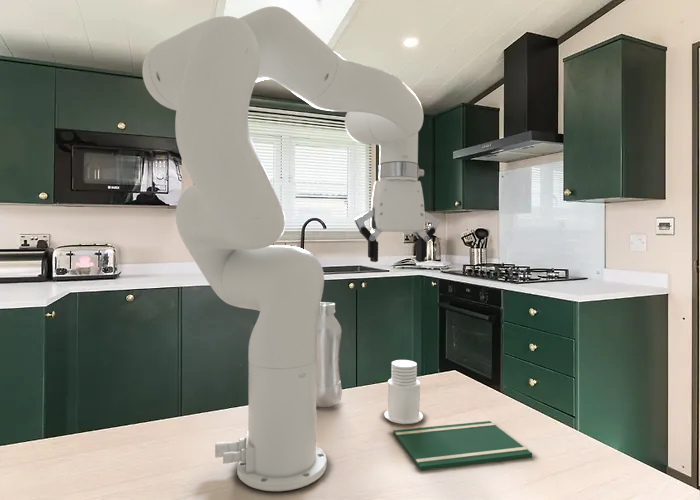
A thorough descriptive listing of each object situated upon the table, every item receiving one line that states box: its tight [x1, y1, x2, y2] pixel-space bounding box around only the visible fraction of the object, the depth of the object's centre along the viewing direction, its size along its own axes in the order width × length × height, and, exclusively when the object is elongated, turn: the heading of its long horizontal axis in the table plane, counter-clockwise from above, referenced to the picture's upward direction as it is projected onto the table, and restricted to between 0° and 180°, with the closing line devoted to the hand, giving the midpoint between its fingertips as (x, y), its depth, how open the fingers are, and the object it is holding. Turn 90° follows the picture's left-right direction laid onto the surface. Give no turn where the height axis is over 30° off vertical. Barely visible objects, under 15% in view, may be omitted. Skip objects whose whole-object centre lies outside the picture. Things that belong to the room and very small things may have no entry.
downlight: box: [384, 359, 424, 425], centre depth 81 cm, size 8×7×10 cm
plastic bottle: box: [316, 301, 343, 408], centre depth 86 cm, size 6×7×20 cm
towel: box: [392, 420, 533, 471], centre depth 70 cm, size 18×12×1 cm, turn 103°
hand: (397, 261), depth 87 cm, fingers open, 9 cm apart
